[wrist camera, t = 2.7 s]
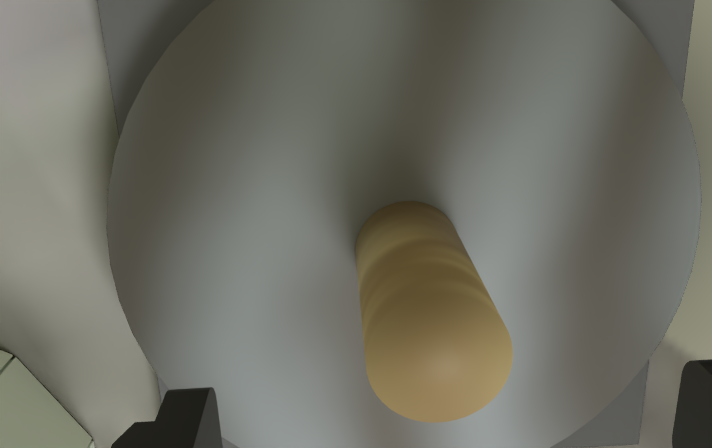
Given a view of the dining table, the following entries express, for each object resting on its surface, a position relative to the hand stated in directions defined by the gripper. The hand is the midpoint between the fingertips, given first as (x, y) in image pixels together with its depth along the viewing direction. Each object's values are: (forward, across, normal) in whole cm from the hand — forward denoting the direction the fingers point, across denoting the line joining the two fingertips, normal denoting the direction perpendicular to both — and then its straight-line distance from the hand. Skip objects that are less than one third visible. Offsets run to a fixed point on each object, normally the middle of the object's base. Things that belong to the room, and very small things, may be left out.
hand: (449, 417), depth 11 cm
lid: (+9, 0, 0) cm, 9 cm away
